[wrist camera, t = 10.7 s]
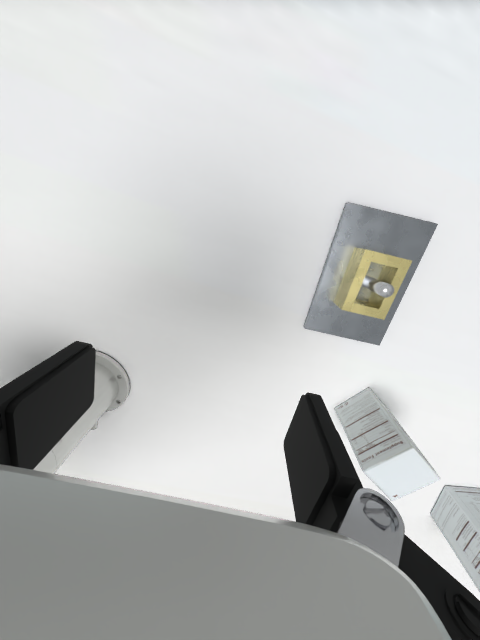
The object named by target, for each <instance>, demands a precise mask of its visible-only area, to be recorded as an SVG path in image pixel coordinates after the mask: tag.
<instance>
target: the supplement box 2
mask: <svg viewBox="0 0 480 640" xmlns="http://www.w3.org/2000/svg"><path fill="white" fill-rule="evenodd" d="M431 516H432V518H433V519H434V521H435V522H436V524H437V526H438V527H439V529H440V530H441V532H442V533H443V535H444V537H445V538H446V540H447V541H448V543H449V544H450V546H451V548H452V549H453V551H454V552H455V554H456V556H457V557H458V559H459V560H460V562H461V563H462V565H463V567H464V568H465V570H466V571H467V573H468V575H469V576H470V578H471V579H472V581H473V582H474V584H475V586H476V587H477V589H478V590H479V592H480V488H468V487H454V486H445V487H444V489H443V491H442V493H441V495H440V497H439V498H438V500H437V502H436V504H435V506H434V508H433V510H432V512H431Z"/></svg>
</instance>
